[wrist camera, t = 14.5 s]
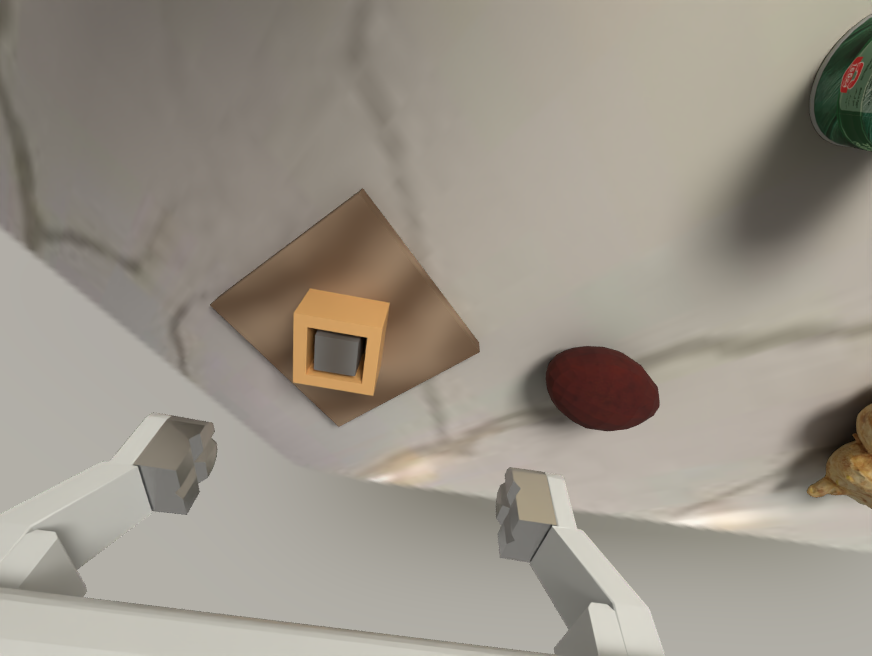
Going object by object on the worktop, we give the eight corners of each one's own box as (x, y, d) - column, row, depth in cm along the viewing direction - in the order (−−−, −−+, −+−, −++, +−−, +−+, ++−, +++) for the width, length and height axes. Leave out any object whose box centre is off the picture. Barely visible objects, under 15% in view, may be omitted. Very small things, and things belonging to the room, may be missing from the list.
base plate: (218, 296, 37) (183, 330, 32) (362, 188, 31) (346, 209, 27) (342, 416, 43) (328, 458, 38) (478, 342, 38) (482, 381, 33)
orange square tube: (307, 353, 37) (292, 382, 34) (310, 288, 34) (293, 312, 31) (380, 366, 38) (373, 395, 34) (389, 302, 35) (382, 328, 31)
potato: (562, 317, 36) (581, 359, 31) (664, 356, 38) (698, 402, 33) (522, 380, 40) (532, 427, 35) (617, 413, 42) (640, 463, 36)
